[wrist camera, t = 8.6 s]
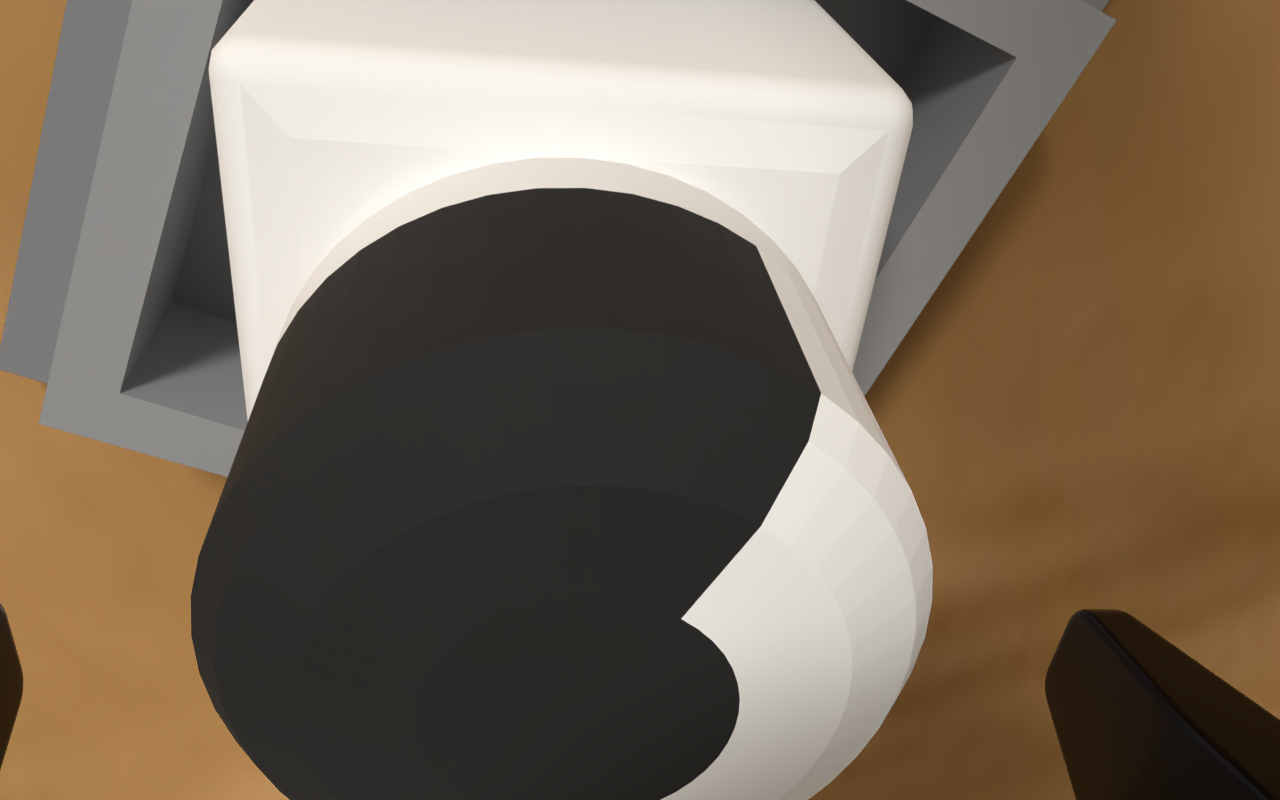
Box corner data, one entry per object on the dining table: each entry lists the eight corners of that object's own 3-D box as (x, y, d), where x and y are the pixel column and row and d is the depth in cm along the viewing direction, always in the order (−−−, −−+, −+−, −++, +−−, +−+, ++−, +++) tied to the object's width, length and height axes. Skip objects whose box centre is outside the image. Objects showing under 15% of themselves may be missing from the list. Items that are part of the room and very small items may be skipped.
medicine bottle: (337, 332, 20) (154, 990, 10) (313, -90, 16) (-27, 278, 6) (719, 348, 21) (911, 958, 11) (784, -46, 17) (1178, 332, 7)
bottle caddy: (213, -632, 13) (112, -742, 10) (1130, -88, 18) (1270, -38, 15) (17, 340, 20) (-81, 468, 17) (716, 553, 25) (748, 686, 22)
